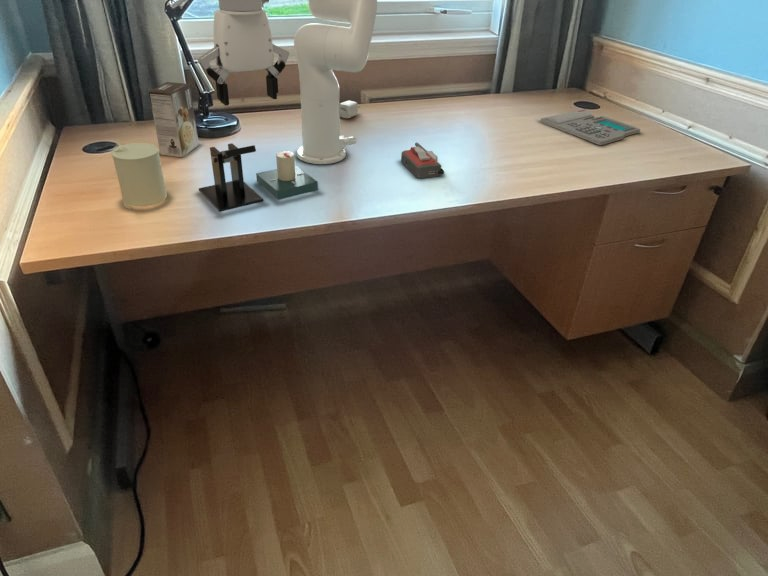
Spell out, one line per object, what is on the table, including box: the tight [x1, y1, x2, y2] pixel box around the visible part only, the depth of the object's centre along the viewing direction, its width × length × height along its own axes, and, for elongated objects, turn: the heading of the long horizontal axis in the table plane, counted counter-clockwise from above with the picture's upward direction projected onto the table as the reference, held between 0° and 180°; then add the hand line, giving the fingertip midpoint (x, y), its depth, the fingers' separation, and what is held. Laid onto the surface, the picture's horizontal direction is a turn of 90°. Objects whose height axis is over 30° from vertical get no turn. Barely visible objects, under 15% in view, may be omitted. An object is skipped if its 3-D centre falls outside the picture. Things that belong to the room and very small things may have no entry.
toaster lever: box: [220, 144, 257, 165], centre depth 119 cm, size 12×6×2 cm, turn 35°
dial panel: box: [255, 164, 319, 201], centre depth 133 cm, size 10×11×3 cm
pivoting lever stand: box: [198, 142, 264, 213], centre depth 125 cm, size 12×10×12 cm
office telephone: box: [540, 109, 641, 146], centre depth 177 cm, size 23×3×20 cm
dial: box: [275, 150, 296, 181], centre depth 131 cm, size 4×4×6 cm
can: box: [111, 142, 168, 211], centre depth 123 cm, size 9×9×12 cm
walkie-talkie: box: [400, 142, 445, 179], centre depth 148 cm, size 9×4×20 cm
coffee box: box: [148, 81, 200, 158], centre depth 146 cm, size 9×6×16 cm
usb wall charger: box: [339, 99, 361, 119], centre depth 178 cm, size 4×7×4 cm, turn 145°
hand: (248, 100), depth 112 cm, fingers open, 9 cm apart
